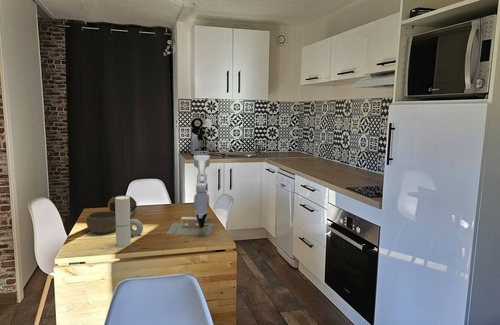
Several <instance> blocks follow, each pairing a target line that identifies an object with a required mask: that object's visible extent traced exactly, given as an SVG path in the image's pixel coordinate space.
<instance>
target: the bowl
mask: <svg viewBox="0 0 500 325" xmlns="http://www.w3.org/2000/svg"><path fill="white" fill-rule="evenodd" d="M86 226H87V228H88V229H89V231H91V232H92V233H95V234H104V235H105V234H108V233H112V232H114V231H116V215H115V212H110V211H109V210H108V211H105V210H104V211H95V212H91V213H90V214H88V215H87V218H86Z"/></svg>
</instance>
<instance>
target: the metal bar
mask: <svg viewBox="0 0 500 325" xmlns="http://www.w3.org/2000/svg"><path fill="white" fill-rule="evenodd" d="M177 229H178V227H177V226H175V228H174V229H173V231H172V234H171V235H176V234H175V232H176V231H177Z"/></svg>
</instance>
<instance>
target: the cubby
mask: <svg viewBox="0 0 500 325" xmlns="http://www.w3.org/2000/svg"><path fill="white" fill-rule="evenodd" d="M189 220H197V218H196V216H182V217H181V218H180V222H173V223H172V224H171V225H170V227H169V229H168V230H167V231H166V233H165V235H173V234H172V231H173V229H174V228H175V226H177V227H178V229H177V231H176V232H175V234H174V235H194V236H195V235H199V236H200V235H202V236H203V235H205V236H206V235H207V236H208V235H209V236H210V235H211V233H212V231H213V226H214V223H208V222H207V223H204V225H208V227H204V231H199V227H198V224H199V222H198V223H197V222H196V227H195V229H188V222H184V221H189Z"/></svg>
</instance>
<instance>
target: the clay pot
mask: <svg viewBox="0 0 500 325" xmlns="http://www.w3.org/2000/svg"><path fill="white" fill-rule="evenodd" d="M119 196H128V197H130V217H131V216H132V215H133V214H134V213H135V211H136V209H137V205H138V204H137V201H136V200H135V199H134V198H133V197H132V196H130V195H127V194H121V195H116V196H113V197H112V198H111V199H110V200H109V201H108V202H107V210H108V211H110V212H115V198H116V197H119Z"/></svg>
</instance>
